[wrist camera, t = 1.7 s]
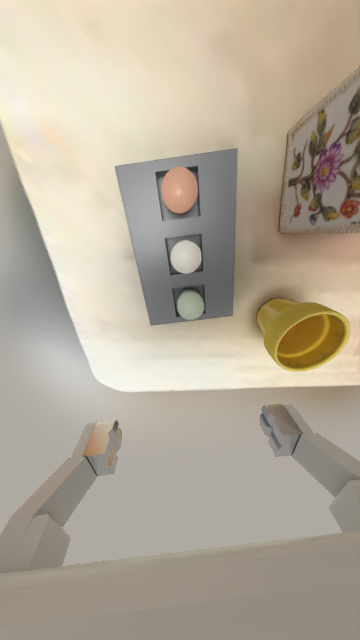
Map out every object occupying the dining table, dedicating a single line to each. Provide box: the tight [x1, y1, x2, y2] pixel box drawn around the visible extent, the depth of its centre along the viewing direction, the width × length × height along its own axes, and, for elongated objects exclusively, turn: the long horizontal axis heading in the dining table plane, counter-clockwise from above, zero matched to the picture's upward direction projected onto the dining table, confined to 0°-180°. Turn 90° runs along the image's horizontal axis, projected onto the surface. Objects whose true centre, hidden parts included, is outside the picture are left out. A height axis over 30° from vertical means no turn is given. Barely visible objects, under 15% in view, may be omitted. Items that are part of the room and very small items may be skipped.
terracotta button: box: [161, 167, 198, 215], centre depth 20 cm, size 4×4×3 cm
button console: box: [115, 148, 237, 325], centre depth 25 cm, size 14×21×3 cm, turn 7°
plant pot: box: [257, 298, 350, 371], centre depth 28 cm, size 10×10×10 cm
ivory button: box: [171, 240, 202, 274], centre depth 23 cm, size 4×4×3 cm
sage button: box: [177, 289, 204, 320], centre depth 26 cm, size 4×4×3 cm
